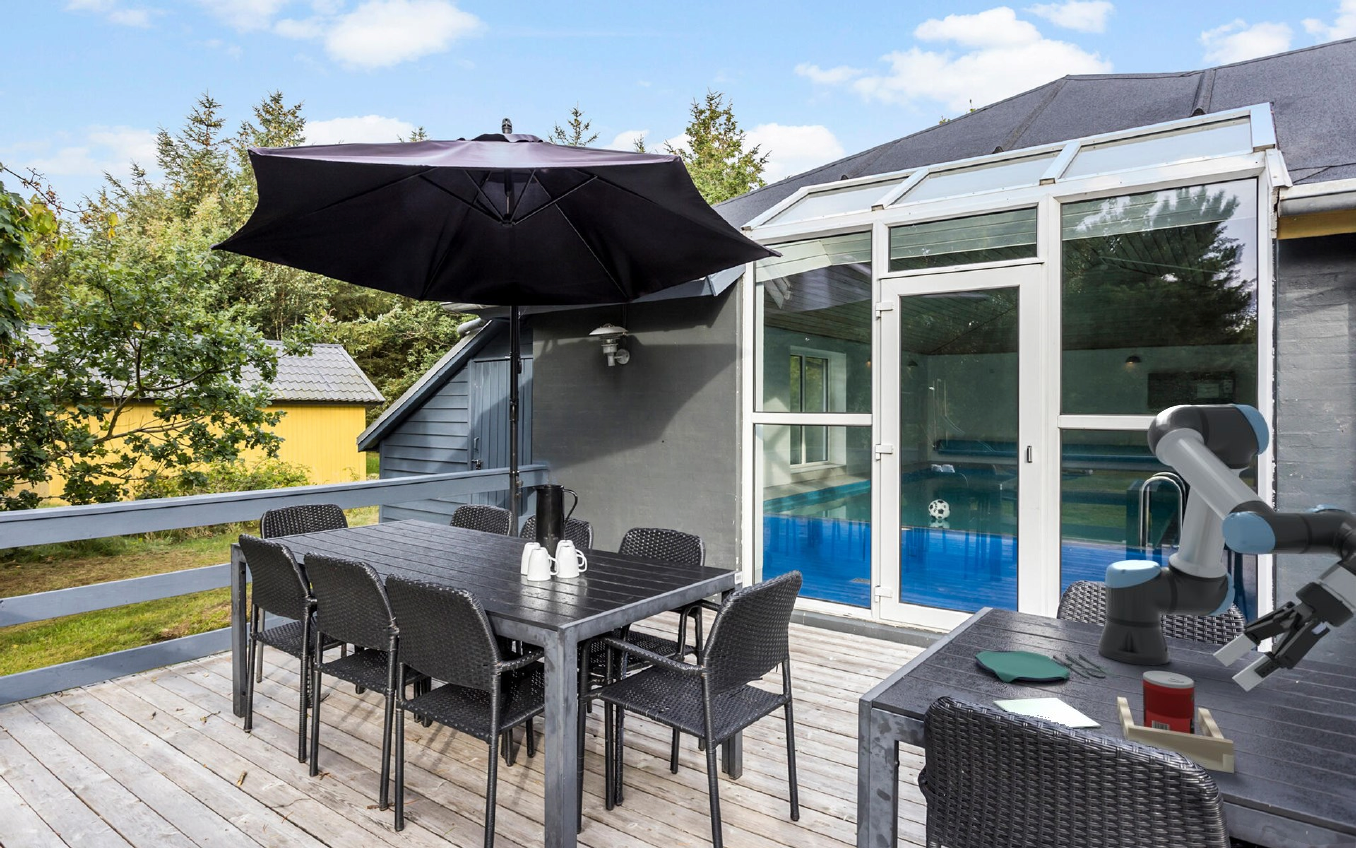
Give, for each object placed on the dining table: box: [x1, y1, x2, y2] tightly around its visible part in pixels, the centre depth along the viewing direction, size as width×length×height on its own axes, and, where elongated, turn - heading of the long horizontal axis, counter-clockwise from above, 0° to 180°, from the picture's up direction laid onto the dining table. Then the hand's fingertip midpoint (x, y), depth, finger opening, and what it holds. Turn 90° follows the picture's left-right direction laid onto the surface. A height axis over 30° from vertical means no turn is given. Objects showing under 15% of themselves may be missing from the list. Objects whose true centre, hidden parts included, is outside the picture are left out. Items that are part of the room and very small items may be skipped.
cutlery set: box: [974, 649, 1120, 683], centre depth 172 cm, size 20×30×2 cm, turn 91°
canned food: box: [1142, 670, 1196, 735], centre depth 135 cm, size 8×8×11 cm
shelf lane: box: [1116, 696, 1235, 774], centre depth 134 cm, size 22×15×5 cm
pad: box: [993, 697, 1101, 729], centre depth 146 cm, size 14×14×1 cm
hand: (1228, 672), depth 131 cm, fingers open, 13 cm apart
